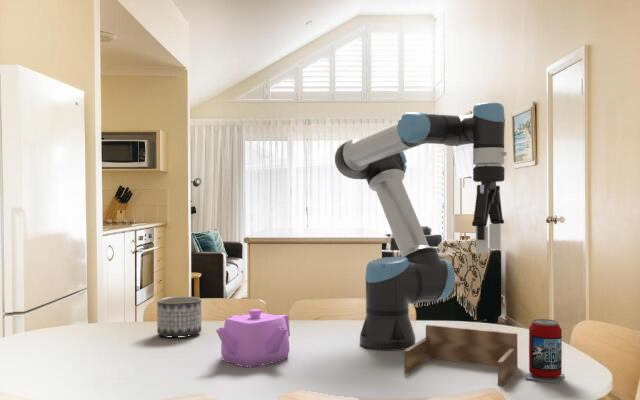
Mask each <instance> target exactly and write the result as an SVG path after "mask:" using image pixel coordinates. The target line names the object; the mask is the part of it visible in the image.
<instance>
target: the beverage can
mask: <svg viewBox="0 0 640 400" xmlns="http://www.w3.org/2000/svg"><path fill="white" fill-rule="evenodd" d="M562 330H563V329H562V328H561V326H560V324H559V321H557V320H554V319H547V318H536V319H532V322H531V323H530V326H529V328H528V334H529V335H528V369H529V371H528V372H529V373H532V374H533V375H534V376H536V377H538V378H543V379H554V378H557V377H558V376H560V375H561V374H563V373H562V366H563V364H562V361H563V359H562V357H563V355H562V353H563V352H562V351H563V349H562V348H563V346H562V343H563V340H562V338H563V337H562Z"/></svg>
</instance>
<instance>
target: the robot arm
mask: <svg viewBox="0 0 640 400" xmlns="http://www.w3.org/2000/svg"><path fill="white" fill-rule="evenodd" d="M472 109H473V110H472V114H467V115H450V114H438V113H437V114H436V113H426V112H425V113H424V112H419V111H415V112H405V113H403V114H402V115H401V117H400V118H399V120H398V122H397V123H395V124H392V125H390V126H388V127H386V128H383V129H380V130H378V131H377V132H375V133H372V134H369V135H367V136H365V137H362V138H361V139H359V138H353V139H352V138H351V139H350V140H348V141H345V142H343V143H342V144H341V145H339V147H338V148H337V149H336V152H335V155H334V164H335V167H336V168H337V170H338V172H339V173H341V175H343V176H344V177H346V178H349V179H352V180H366V182H367V184H368V188H369V189H370V191H374V192H375V193H376V195H377V197H378V200H379V202H380V205H381V207H382V210H383V212H384V215H385V218H386V219H387V223H388V226H389V228H390V230H391V233H392V235H393V238H394V241H395V244H396V246H397V248H398V252H399V254H400V256H390V257H389V256H385V257H379V258H376V259H372V260H370V261H369V262H368V263H367V264H366V267H365V276H364V280H365V319H364V321H363V324H362V328H361V330H360V331H361V332H360V334H359V344H360V346H362V347H364V348H368V349H372V350H380V351H381V350H382V351H398V350H399V351H400V350H406V349H408V348H409V347H411V346H412V345H414V344H416V334H415V331H414V328H413V325H412V323H411V319H410V313H409V310H410V309H409V304H417V303H427V302H436V301H440V300H444V299H446V298H448V297H450V295H451V293H452V292H453V289H454V287H455V282H456V274H455V273H456V272H455V269H454V266H453V264H452V263H451V261H450V260H447V259H446V258H440V256H439V252H438V251H437V249H436V248H435V247H434V246H430V245H429V243H428V240H427V238H426V236H425V234H424V231H423V228H422V226H421V224H420V221H419V218H418V217H417V214H416V211H415V209H414V207H413V204H412V202H411V200H410V198H409V195H408V193H407V190H406V188H405V185H404V183H403V181H404V178H405V173H406V170H407V168H408V167H407V165H406V163H407V157H406V155H405V153H404V152H405V151H407V150H410V149H413V148H414V147H419V146H421V145H424V144H435V145H436V144H437V145H444V146H448V147H450V146H451V147H459V146H463V145H464V146H465V145H471V144H472V164H473V165H474V167H473V168H472V169H473V170H472V177H473V178H472V180H473V181H474V182H475V183H480V184H477V186H476V196H475V197H476V198H475V206H474V213H473V220H472V222H471V224H472V225H471V226H472V227H475V254H477V255H480V254H481V255H488V254H489V250H501V249H502V247H501V246H502V245H501V237H502V236H501V234H502V233H501V230H502V229H501V226H502V225H504V223H505V219H504V218H503V211H502V210H503V209H502V202H501V193H500V192H501V191H500V190H501V187H500V185H497V183H498V182H504V181H505V167H504V166H503V165H504V164H505V156H507V154H508V153H507V152H506V151H505V128H506V127H505V125H506V123H505V122H506V119H505V108H504V105H503V104H502V103H498V102H482V103H481V102H480V103H477V104H475V105H473V108H472ZM488 219H489V222H490V223H489V224H488ZM487 225H489V226H487Z"/></svg>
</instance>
